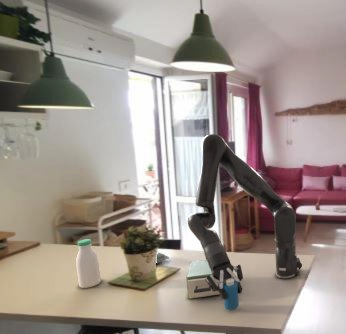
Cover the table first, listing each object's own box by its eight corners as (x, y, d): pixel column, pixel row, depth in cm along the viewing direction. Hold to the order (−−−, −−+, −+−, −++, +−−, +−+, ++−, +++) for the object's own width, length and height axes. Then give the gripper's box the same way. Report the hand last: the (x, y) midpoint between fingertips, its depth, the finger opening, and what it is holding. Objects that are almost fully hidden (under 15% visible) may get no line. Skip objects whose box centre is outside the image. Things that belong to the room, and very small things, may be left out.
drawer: (219, 299, 132) (217, 282, 130) (187, 304, 129) (185, 286, 127) (222, 278, 149) (220, 262, 147) (194, 282, 146) (192, 266, 144)
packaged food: (156, 256, 174) (155, 247, 173) (170, 261, 168) (169, 252, 167) (139, 263, 167) (138, 253, 166) (153, 268, 161) (152, 259, 160)
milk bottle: (103, 283, 147) (97, 240, 144) (81, 290, 142) (74, 245, 138) (98, 277, 152) (93, 236, 149) (77, 284, 147) (71, 241, 143)
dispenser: (221, 293, 138) (220, 272, 136) (188, 298, 134) (186, 277, 133) (224, 277, 152) (222, 257, 150) (193, 281, 148) (191, 261, 147)
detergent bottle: (238, 301, 130) (237, 276, 128) (238, 308, 125) (237, 282, 123) (224, 303, 128) (223, 277, 127) (223, 310, 124) (222, 284, 122)
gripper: (200, 257, 124) (217, 299, 117) (236, 246, 134) (253, 284, 127) (195, 266, 128) (211, 307, 122) (230, 254, 138) (247, 292, 132)
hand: (233, 295), depth 125 cm, fingers closed on detergent bottle, 5 cm apart
